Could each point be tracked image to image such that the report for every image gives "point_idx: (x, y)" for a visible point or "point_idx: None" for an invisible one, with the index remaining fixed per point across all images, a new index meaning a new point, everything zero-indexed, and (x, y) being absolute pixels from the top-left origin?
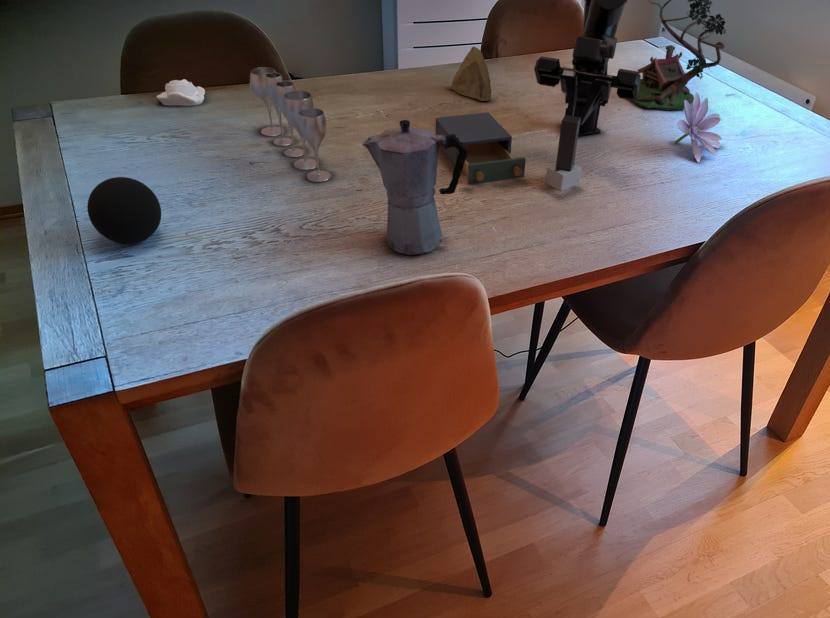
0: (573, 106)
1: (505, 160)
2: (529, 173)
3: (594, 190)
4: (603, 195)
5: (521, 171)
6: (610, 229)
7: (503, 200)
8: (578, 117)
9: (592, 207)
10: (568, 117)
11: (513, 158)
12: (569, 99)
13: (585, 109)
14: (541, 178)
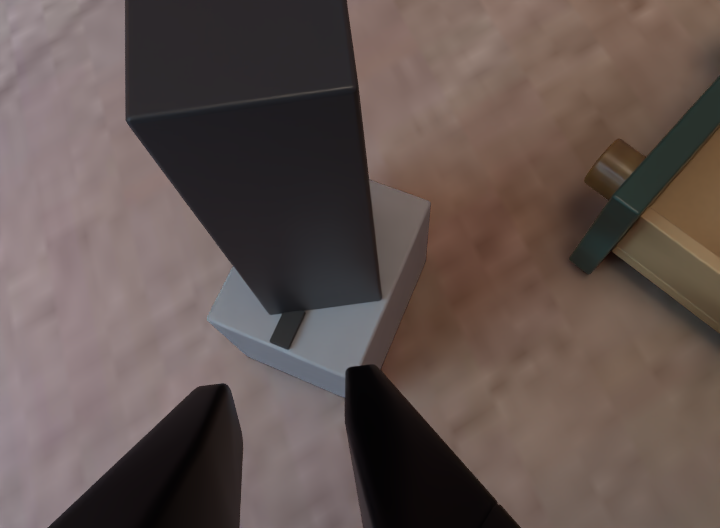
0: (359, 473)
1: (715, 94)
2: (603, 411)
3: (157, 410)
4: (94, 378)
5: (587, 175)
6: (4, 75)
7: (561, 52)
8: (154, 101)
9: (125, 216)
10: (283, 29)
11: (688, 150)
12: (483, 524)
13: (132, 488)
14: (504, 386)
